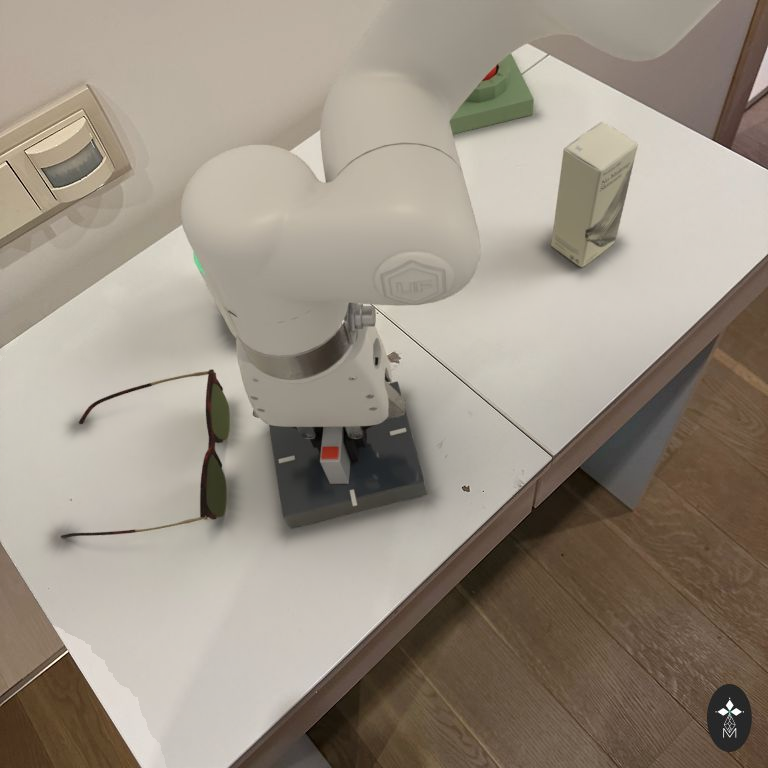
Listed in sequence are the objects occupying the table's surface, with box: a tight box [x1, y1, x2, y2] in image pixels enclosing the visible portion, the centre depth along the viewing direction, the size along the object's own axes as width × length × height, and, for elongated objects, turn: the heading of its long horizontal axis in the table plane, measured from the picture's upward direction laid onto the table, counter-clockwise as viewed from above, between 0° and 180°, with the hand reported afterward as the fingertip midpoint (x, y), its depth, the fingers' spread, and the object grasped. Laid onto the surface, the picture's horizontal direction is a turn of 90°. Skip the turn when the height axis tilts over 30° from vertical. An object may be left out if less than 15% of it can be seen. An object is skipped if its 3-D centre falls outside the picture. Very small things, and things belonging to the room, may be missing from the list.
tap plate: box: [268, 381, 428, 529], centre depth 65 cm, size 12×11×3 cm
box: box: [550, 121, 639, 268], centre depth 70 cm, size 5×4×13 cm
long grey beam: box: [320, 427, 351, 484], centre depth 62 cm, size 7×2×5 cm, turn 177°
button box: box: [449, 53, 535, 135], centre depth 87 cm, size 10×10×4 cm
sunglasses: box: [60, 368, 231, 539], centre depth 67 cm, size 14×15×5 cm
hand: (342, 444), depth 64 cm, fingers closed on long grey beam
